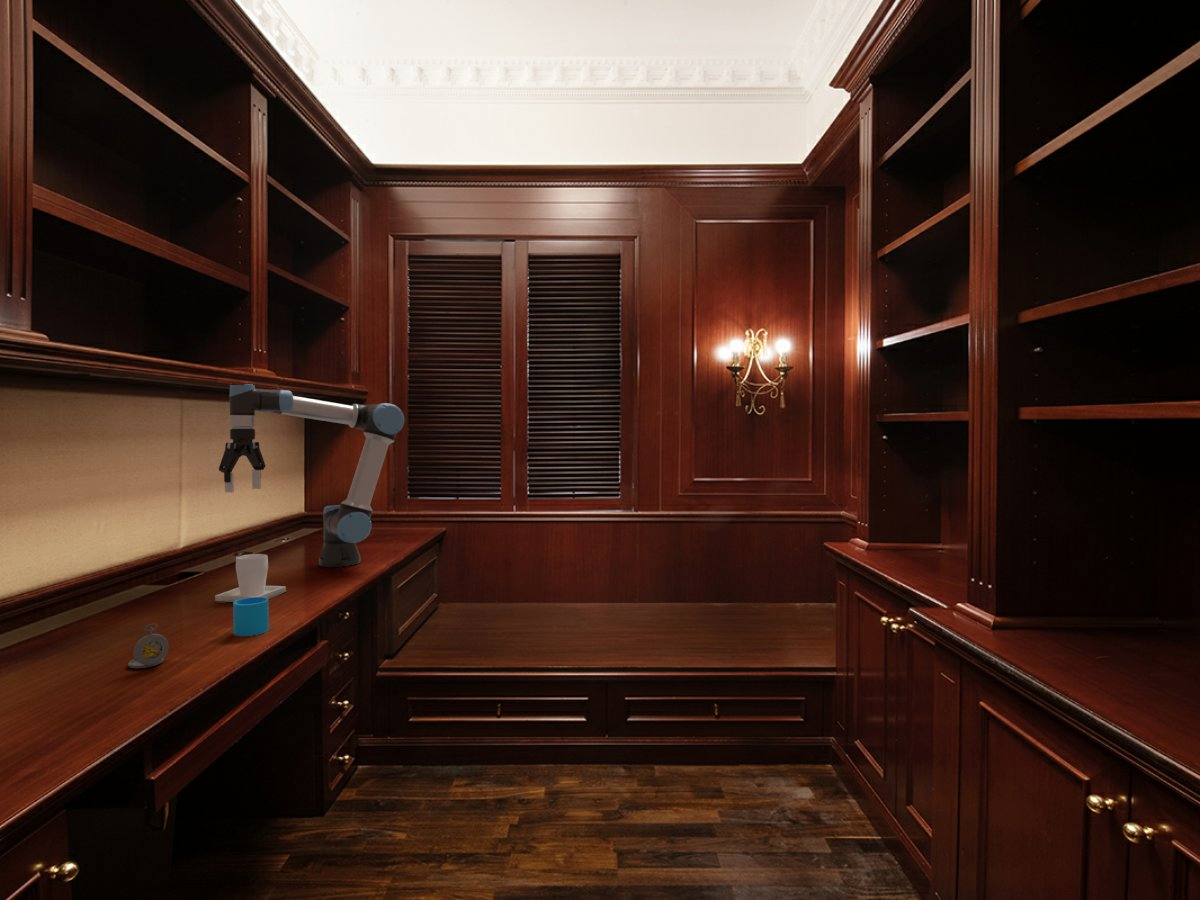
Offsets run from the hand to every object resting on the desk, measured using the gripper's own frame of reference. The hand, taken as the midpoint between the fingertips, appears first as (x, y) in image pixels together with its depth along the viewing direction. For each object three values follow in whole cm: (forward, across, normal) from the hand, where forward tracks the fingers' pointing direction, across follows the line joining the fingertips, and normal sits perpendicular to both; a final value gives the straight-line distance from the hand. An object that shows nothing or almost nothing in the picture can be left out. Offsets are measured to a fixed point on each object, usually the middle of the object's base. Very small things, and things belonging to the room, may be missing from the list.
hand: (243, 490), depth 224 cm
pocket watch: (+32, +75, +32) cm, 87 cm away
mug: (+32, +47, +38) cm, 68 cm away
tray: (+32, +17, +15) cm, 39 cm away
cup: (+31, +17, +15) cm, 39 cm away
